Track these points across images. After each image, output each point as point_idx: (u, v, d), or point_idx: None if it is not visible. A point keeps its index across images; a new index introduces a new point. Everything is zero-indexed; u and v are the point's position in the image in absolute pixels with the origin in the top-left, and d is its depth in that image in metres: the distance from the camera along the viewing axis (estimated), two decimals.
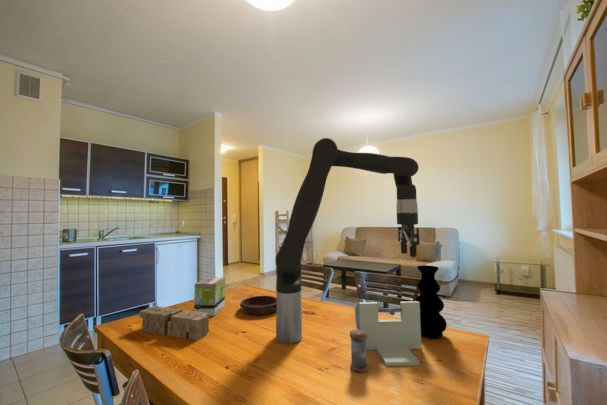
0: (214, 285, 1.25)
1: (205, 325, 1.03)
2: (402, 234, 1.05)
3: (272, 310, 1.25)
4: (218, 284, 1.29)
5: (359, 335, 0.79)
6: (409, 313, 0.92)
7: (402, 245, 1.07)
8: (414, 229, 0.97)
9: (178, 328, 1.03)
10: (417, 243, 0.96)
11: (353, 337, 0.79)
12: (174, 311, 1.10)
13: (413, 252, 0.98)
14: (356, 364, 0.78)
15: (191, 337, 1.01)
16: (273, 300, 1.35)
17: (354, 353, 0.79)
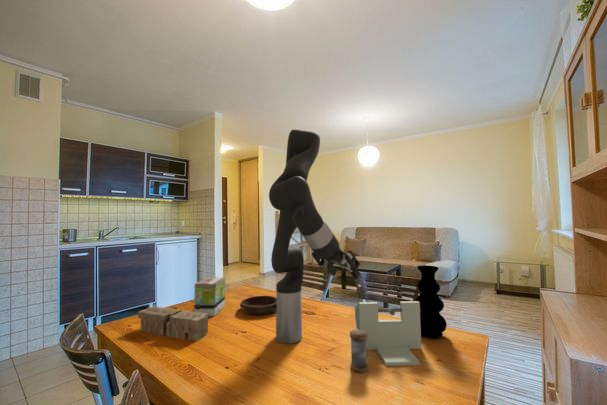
0: (214, 285, 1.25)
1: (204, 325, 1.03)
2: None
3: (272, 310, 1.25)
4: (218, 284, 1.29)
5: (359, 335, 0.79)
6: (409, 313, 0.92)
7: None
8: None
9: (177, 329, 1.03)
10: None
11: (353, 337, 0.79)
12: (173, 311, 1.09)
13: None
14: (356, 364, 0.78)
15: (190, 337, 1.00)
16: (273, 300, 1.35)
17: (354, 353, 0.79)
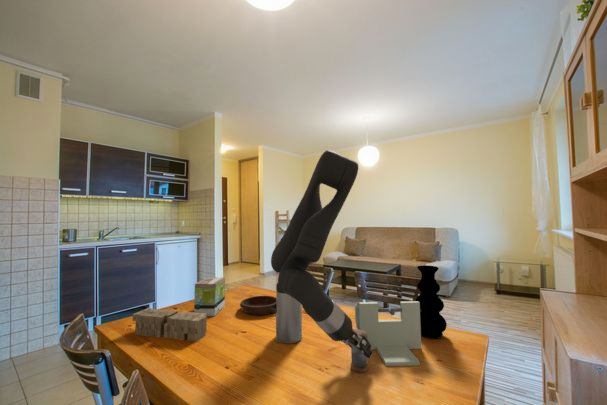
0: (214, 285, 1.25)
1: (204, 325, 1.03)
2: None
3: (272, 310, 1.25)
4: (218, 284, 1.29)
5: None
6: (409, 313, 0.92)
7: None
8: None
9: (176, 330, 1.02)
10: None
11: None
12: (170, 313, 1.08)
13: None
14: (356, 364, 0.78)
15: (190, 338, 1.00)
16: (273, 300, 1.35)
17: (354, 353, 0.79)
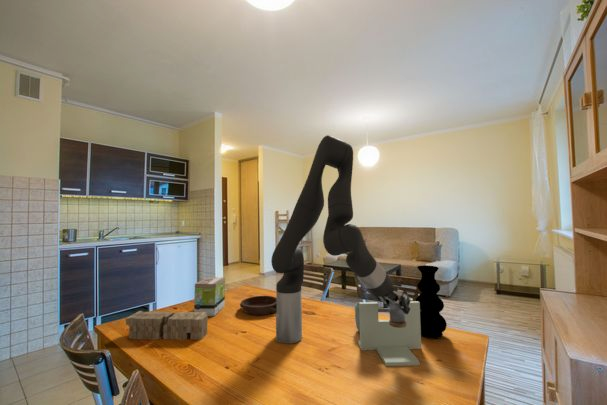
0: (214, 285, 1.25)
1: (206, 324, 1.05)
2: None
3: (272, 310, 1.25)
4: (218, 284, 1.29)
5: None
6: (409, 313, 0.92)
7: None
8: None
9: (177, 330, 1.01)
10: None
11: None
12: (167, 314, 1.06)
13: None
14: (395, 320, 0.83)
15: (193, 337, 1.01)
16: (273, 300, 1.35)
17: (393, 310, 0.84)
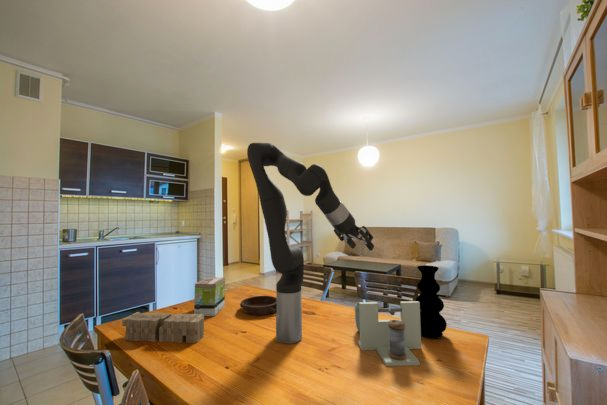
0: (214, 285, 1.25)
1: (202, 326, 1.02)
2: None
3: (272, 310, 1.25)
4: (218, 284, 1.29)
5: (398, 325, 0.83)
6: (409, 313, 0.92)
7: None
8: None
9: (173, 333, 0.99)
10: None
11: (392, 326, 0.83)
12: (163, 316, 1.05)
13: None
14: (395, 352, 0.83)
15: (189, 340, 0.98)
16: (273, 300, 1.35)
17: (393, 342, 0.83)
